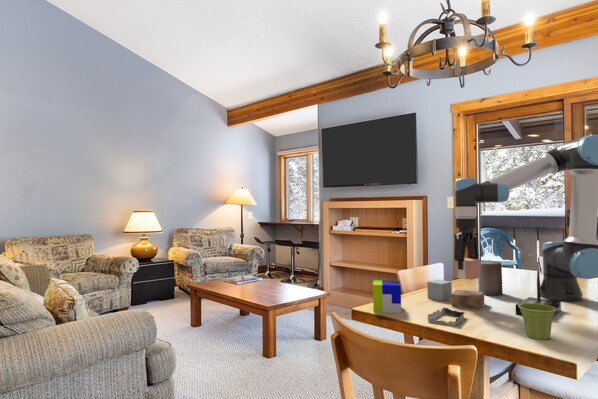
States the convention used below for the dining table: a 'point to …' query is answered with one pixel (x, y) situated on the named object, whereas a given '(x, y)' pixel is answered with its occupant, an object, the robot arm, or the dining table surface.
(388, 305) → the puzzle toy
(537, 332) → the plant pot
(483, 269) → the pillar candle
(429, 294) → the slate grey cube
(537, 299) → the wireless controller
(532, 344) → the dining table surface
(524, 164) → the robot arm
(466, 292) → the walnut base block
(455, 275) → the terracotta cube
